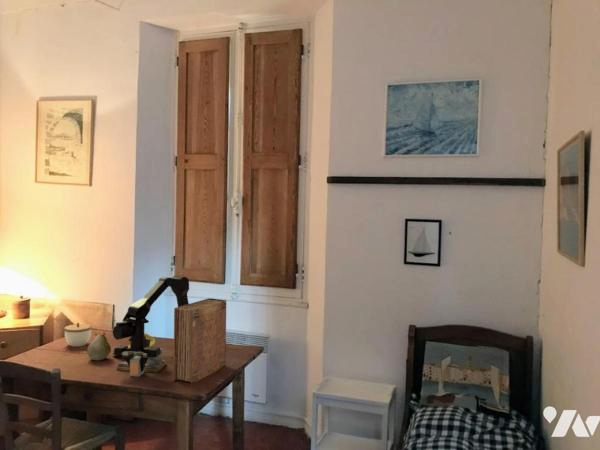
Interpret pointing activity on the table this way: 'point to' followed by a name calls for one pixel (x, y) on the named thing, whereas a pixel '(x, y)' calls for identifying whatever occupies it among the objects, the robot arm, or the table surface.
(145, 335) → the plastic component
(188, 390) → the table surface
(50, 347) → the table surface
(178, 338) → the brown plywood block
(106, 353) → the fruit
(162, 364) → the rail
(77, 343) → the lidded bowl
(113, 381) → the table surface
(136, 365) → the grey green block
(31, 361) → the table surface
